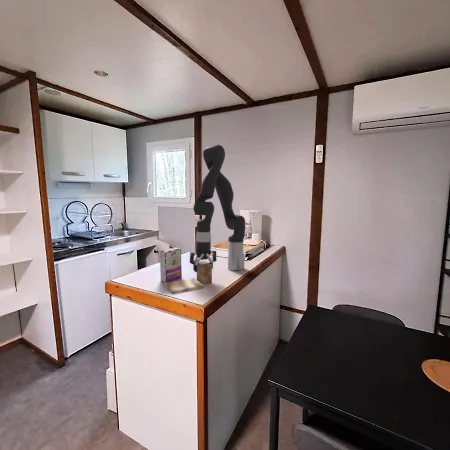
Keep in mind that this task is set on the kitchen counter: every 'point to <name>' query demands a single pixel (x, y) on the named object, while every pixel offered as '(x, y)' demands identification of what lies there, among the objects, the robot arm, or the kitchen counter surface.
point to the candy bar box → (170, 264)
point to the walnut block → (204, 272)
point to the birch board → (183, 285)
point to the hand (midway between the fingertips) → (203, 270)
